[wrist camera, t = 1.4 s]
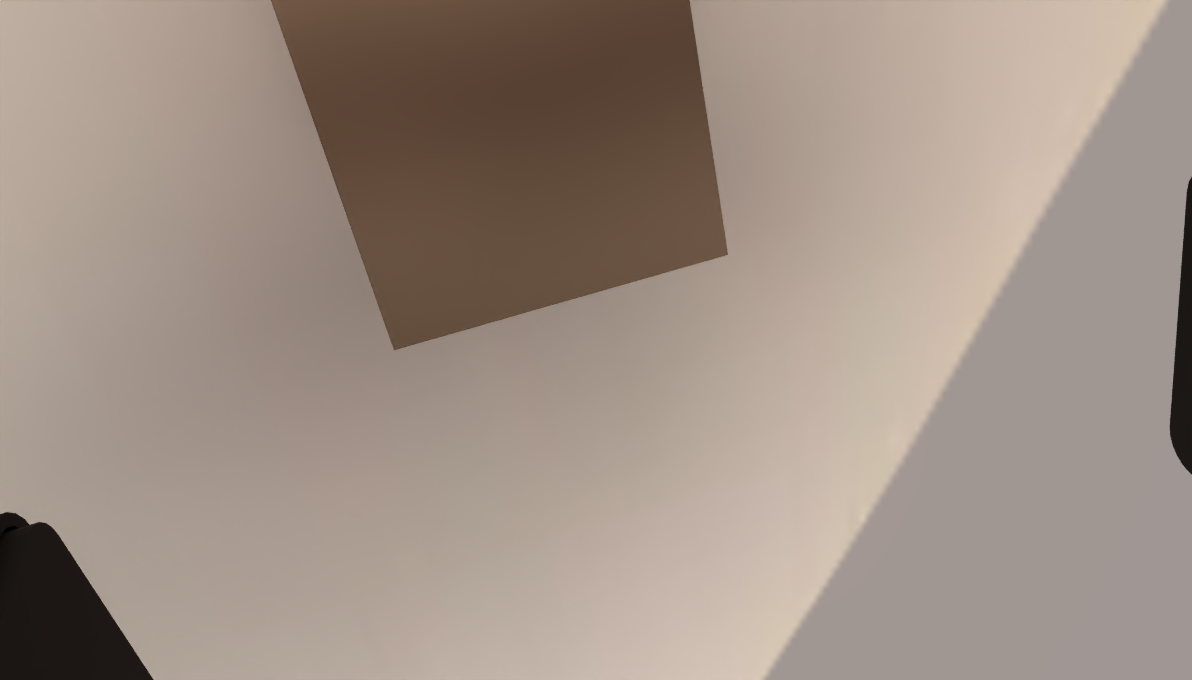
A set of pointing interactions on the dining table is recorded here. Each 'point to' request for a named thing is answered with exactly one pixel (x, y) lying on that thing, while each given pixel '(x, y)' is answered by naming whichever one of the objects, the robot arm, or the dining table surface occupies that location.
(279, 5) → the walnut cabinet
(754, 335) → the dining table surface
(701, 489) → the dining table surface
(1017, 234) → the dining table surface
